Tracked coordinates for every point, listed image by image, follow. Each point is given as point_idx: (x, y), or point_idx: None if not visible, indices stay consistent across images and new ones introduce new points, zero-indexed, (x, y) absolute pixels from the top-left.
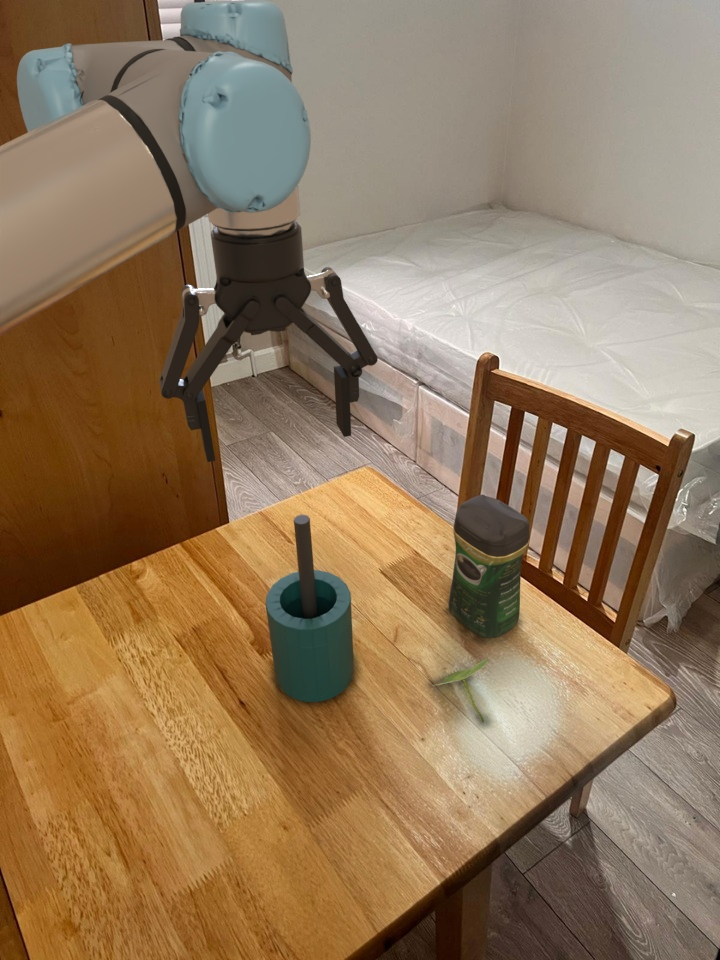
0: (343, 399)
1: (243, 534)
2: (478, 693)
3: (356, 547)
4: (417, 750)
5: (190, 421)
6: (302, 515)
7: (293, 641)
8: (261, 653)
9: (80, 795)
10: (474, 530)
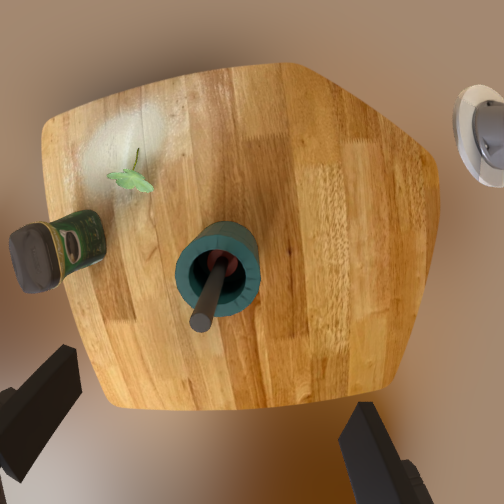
0: (24, 402)
1: (220, 403)
2: None
3: (143, 350)
4: (191, 148)
5: (414, 474)
6: (196, 329)
7: (248, 244)
8: None
9: (403, 236)
10: (44, 254)
